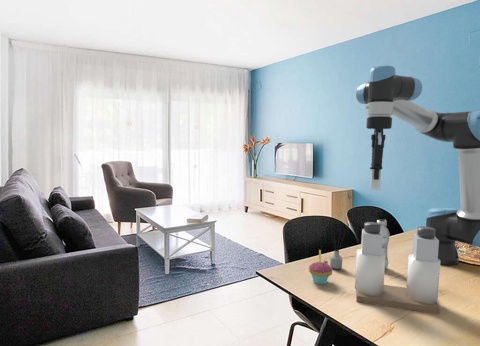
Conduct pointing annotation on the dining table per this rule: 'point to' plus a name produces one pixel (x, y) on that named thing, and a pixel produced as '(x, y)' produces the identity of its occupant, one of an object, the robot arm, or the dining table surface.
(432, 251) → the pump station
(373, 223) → the plunger
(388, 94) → the robot arm
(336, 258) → the reed diffuser
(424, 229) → the plunger
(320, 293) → the dining table surface
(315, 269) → the cupcake
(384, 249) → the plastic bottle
